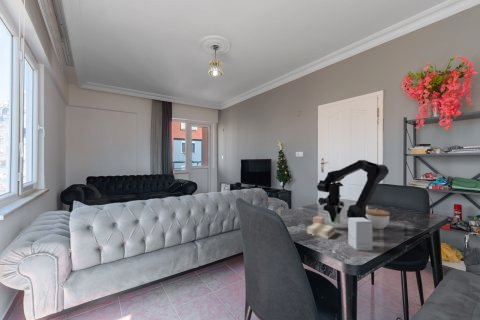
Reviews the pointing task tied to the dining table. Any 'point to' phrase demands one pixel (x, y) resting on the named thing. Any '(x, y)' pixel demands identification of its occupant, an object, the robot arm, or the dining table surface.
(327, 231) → the birch block
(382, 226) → the lidded bowl
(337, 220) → the sage cube
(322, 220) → the clay cube
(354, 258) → the dining table surface
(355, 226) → the supplement box
